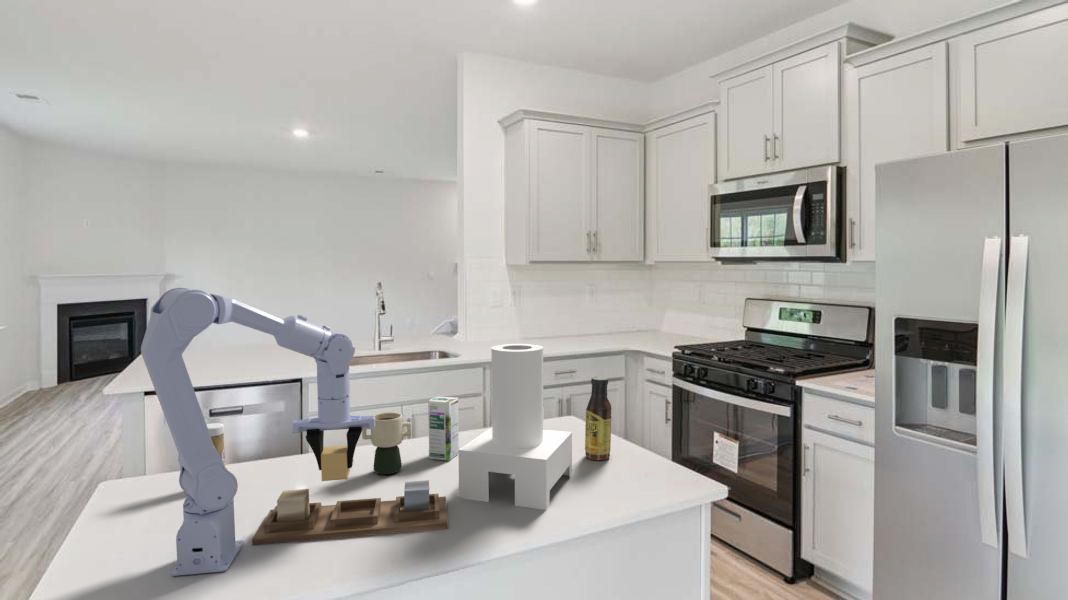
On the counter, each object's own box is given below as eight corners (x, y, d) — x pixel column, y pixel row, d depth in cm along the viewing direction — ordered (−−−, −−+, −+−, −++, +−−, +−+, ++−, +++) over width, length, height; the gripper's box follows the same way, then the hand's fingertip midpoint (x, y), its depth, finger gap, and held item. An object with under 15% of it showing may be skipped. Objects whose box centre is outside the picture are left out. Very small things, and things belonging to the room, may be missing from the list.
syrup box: (428, 459, 142) (427, 400, 141) (438, 451, 147) (438, 395, 146) (449, 461, 140) (448, 402, 139) (459, 453, 146) (458, 396, 145)
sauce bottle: (580, 455, 144) (580, 376, 143) (601, 451, 147) (602, 373, 145) (593, 463, 138) (594, 381, 137) (616, 459, 141) (616, 378, 140)
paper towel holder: (546, 510, 113) (546, 356, 111) (459, 497, 119) (457, 352, 117) (571, 476, 131) (572, 343, 129) (494, 466, 137) (493, 339, 135)
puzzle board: (448, 528, 105) (447, 496, 105) (252, 545, 99) (251, 510, 99) (445, 501, 117) (445, 472, 117) (270, 514, 111) (269, 484, 111)
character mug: (411, 464, 138) (410, 410, 137) (412, 475, 131) (411, 418, 130) (363, 468, 136) (362, 413, 135) (362, 479, 129) (361, 422, 128)
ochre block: (347, 479, 108) (346, 453, 108) (321, 481, 107) (320, 454, 107) (349, 470, 113) (349, 445, 112) (325, 472, 112) (324, 446, 112)
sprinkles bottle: (227, 487, 124) (225, 426, 123) (203, 492, 122) (200, 429, 121) (225, 481, 128) (222, 421, 127) (201, 485, 126) (198, 424, 125)
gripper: (375, 389, 114) (377, 457, 115) (297, 393, 111) (299, 462, 112) (372, 398, 107) (374, 470, 108) (289, 402, 105) (291, 476, 106)
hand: (336, 467), depth 110 cm, fingers closed on ochre block, 4 cm apart
